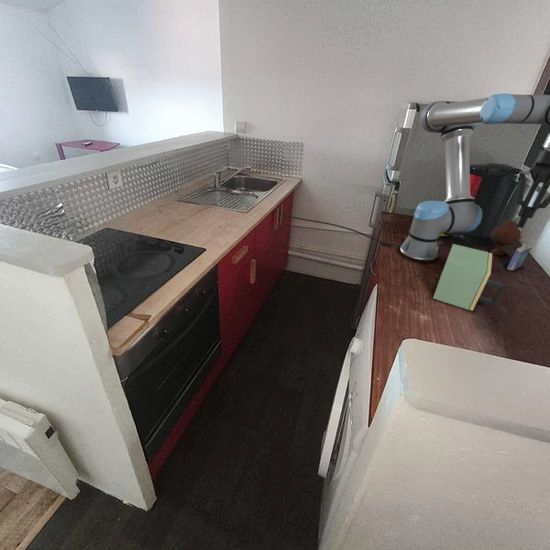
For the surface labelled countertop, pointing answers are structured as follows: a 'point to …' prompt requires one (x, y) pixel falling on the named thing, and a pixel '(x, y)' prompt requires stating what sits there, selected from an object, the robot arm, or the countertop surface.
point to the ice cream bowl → (505, 236)
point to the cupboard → (461, 276)
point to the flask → (519, 257)
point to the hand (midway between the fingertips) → (519, 226)
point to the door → (491, 283)
